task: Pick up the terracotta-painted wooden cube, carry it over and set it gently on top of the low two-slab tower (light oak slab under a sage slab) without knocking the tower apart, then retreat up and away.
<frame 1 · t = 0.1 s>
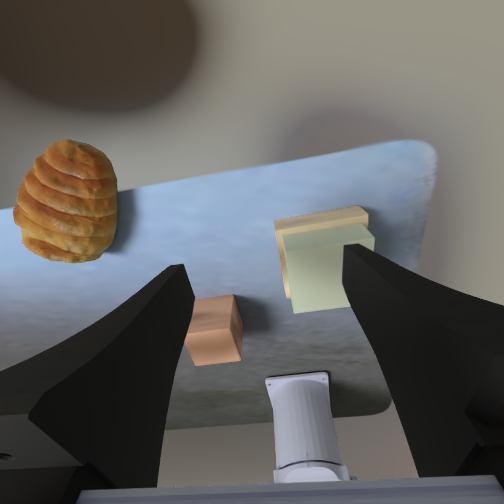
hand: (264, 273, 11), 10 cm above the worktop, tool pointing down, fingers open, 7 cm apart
pastry: (81, 202, 20), on the worktop
terracotta cube: (218, 312, 26), on the worktop
sage slab: (322, 261, 20), point 2 cm above the worktop, touching oak slab
oak slab: (316, 246, 22), on the worktop, touching sage slab
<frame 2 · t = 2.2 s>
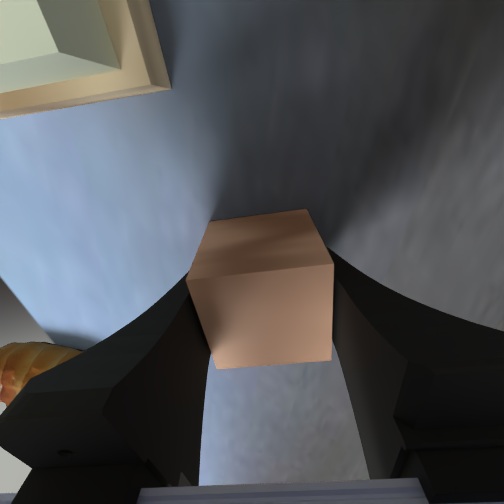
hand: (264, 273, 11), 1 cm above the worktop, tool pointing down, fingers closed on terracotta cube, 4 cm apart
pastry: (87, 371, 18), on the worktop
terracotta cube: (263, 256, 12), on the worktop, touching gripper
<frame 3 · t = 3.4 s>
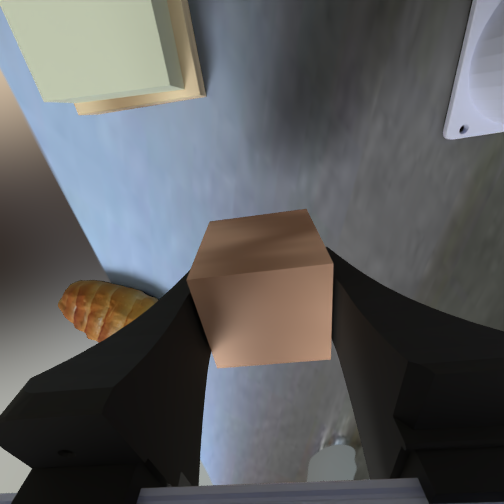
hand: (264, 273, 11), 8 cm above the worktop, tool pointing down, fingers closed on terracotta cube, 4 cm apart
pastry: (129, 308, 24), on the worktop
terracotta cube: (263, 256, 12), point 7 cm above the worktop, touching gripper
sage slab: (108, 22, 12), point 2 cm above the worktop, touching oak slab
oak slab: (133, 34, 14), on the worktop, touching sage slab
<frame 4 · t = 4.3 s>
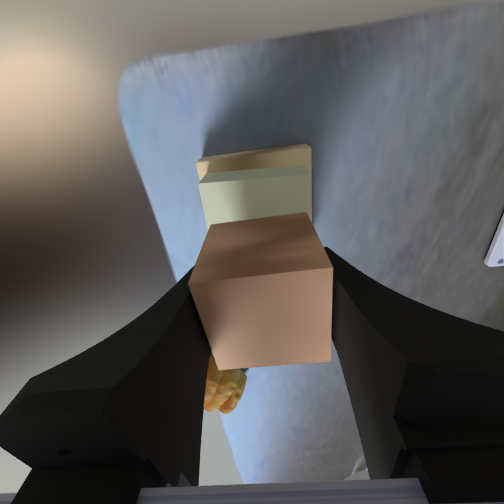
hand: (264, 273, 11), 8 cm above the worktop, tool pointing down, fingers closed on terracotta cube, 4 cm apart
pastry: (209, 368, 29), on the worktop
terracotta cube: (263, 258, 13), point 7 cm above the worktop, touching gripper
sage slab: (258, 214, 17), point 2 cm above the worktop, touching oak slab
oak slab: (258, 198, 19), on the worktop, touching sage slab
when the fingers open (7 cm above the worktop, at t = 5.2 s): terracotta cube drops 1 cm, resting on sage slab.
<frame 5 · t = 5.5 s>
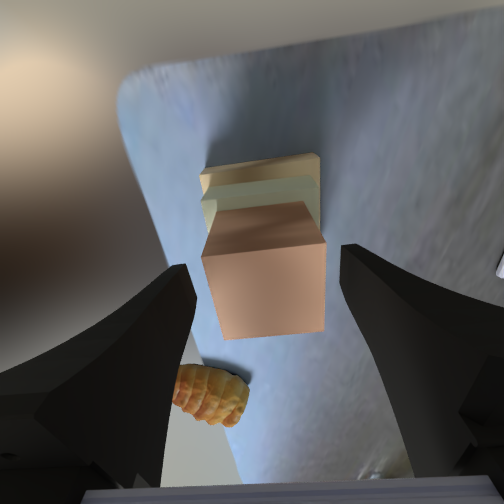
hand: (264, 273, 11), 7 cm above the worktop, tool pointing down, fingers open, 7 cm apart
pastry: (211, 380, 29), on the worktop
terracotta cube: (263, 244, 14), point 4 cm above the worktop, touching sage slab
sage slab: (263, 226, 16), point 2 cm above the worktop, touching oak slab, terracotta cube
oak slab: (263, 208, 18), on the worktop, touching sage slab
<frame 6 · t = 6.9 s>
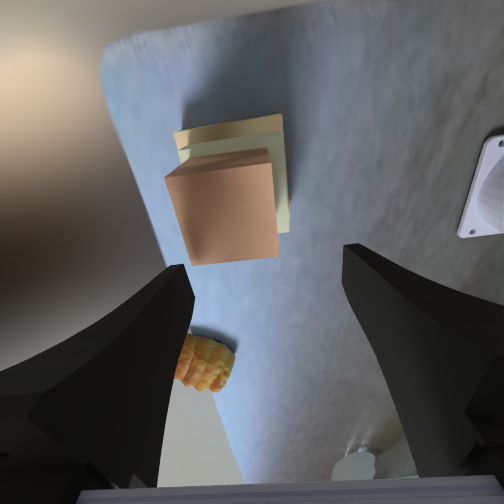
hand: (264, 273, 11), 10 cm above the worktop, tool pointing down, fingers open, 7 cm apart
pastry: (199, 350, 30), on the worktop
terracotta cube: (234, 191, 15), point 5 cm above the worktop, touching sage slab
sage slab: (240, 183, 17), point 2 cm above the worktop, touching oak slab, terracotta cube
oak slab: (238, 171, 19), on the worktop, touching sage slab
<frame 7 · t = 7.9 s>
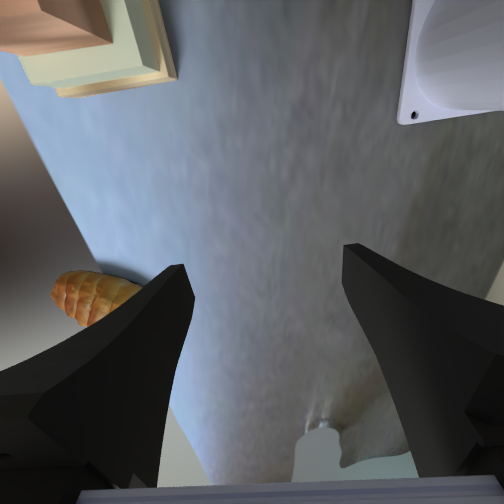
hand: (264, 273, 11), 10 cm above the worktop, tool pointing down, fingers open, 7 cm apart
pastry: (117, 296, 26), on the worktop
sage slab: (87, 12, 13), point 2 cm above the worktop, touching oak slab
oak slab: (108, 22, 15), on the worktop, touching sage slab
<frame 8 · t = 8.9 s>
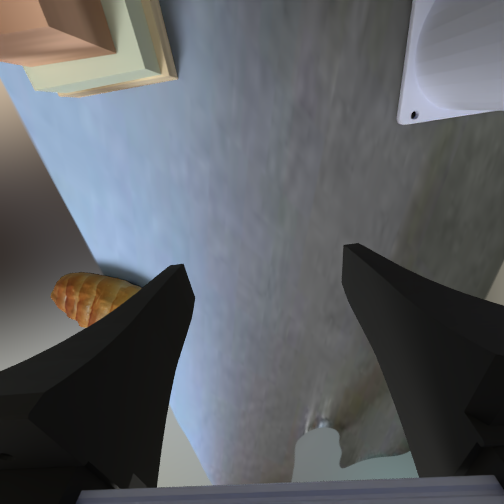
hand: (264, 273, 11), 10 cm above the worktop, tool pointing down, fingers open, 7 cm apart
pastry: (117, 298, 26), on the worktop
sage slab: (88, 17, 13), point 2 cm above the worktop
oak slab: (108, 21, 15), on the worktop
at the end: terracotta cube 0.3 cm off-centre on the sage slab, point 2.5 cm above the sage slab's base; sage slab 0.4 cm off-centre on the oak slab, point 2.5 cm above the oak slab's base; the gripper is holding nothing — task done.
